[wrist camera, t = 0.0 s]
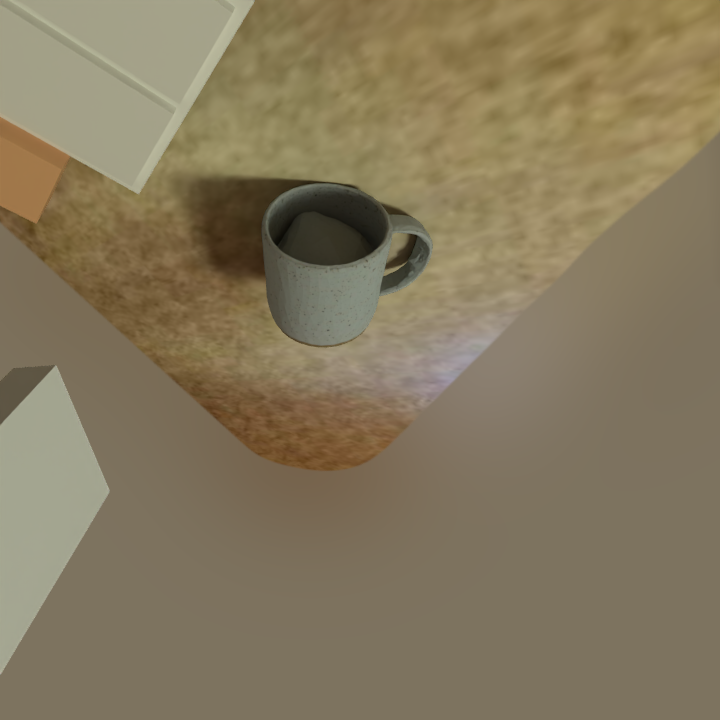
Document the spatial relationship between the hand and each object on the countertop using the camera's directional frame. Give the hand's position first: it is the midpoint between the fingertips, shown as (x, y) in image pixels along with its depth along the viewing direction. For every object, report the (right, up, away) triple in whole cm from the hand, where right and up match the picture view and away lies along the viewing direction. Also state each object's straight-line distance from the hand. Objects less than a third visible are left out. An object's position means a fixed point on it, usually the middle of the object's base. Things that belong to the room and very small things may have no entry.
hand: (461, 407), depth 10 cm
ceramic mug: (-2, +9, +32) cm, 34 cm away
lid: (-15, +14, +18) cm, 27 cm away
